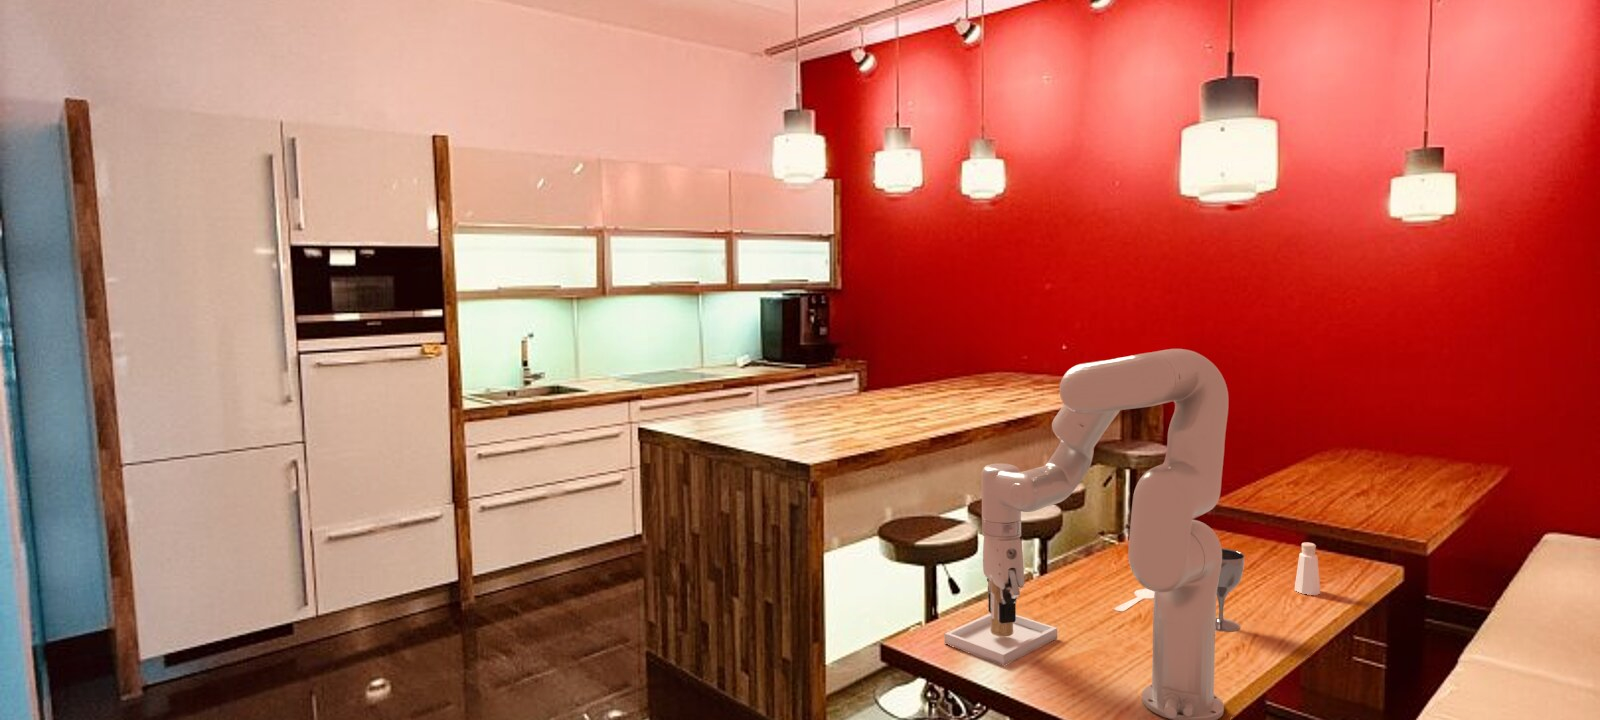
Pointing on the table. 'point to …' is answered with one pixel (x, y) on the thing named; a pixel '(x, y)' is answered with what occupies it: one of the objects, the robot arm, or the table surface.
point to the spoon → (1136, 599)
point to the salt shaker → (1308, 571)
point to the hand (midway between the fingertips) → (1001, 616)
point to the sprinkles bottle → (996, 626)
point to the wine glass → (1228, 585)
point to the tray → (1000, 639)
